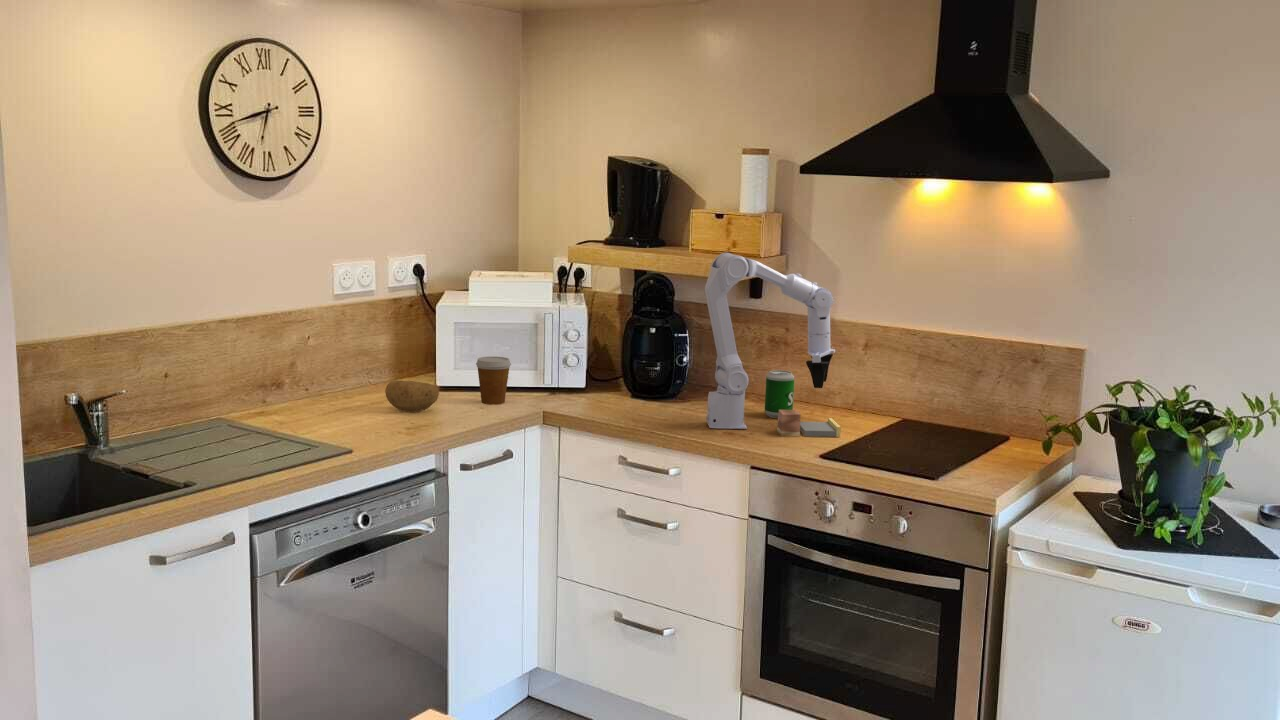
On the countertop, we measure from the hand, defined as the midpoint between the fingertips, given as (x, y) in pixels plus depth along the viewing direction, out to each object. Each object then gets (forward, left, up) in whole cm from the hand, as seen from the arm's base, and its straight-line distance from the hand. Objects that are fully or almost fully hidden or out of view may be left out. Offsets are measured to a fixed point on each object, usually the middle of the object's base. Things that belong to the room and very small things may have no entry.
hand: (820, 384), depth 292 cm
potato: (-106, +6, -11) cm, 107 cm away
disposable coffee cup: (-86, +19, -11) cm, 89 cm away
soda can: (-9, +9, -11) cm, 17 cm away
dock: (-2, -9, -11) cm, 14 cm away
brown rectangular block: (-10, -11, -11) cm, 18 cm away
